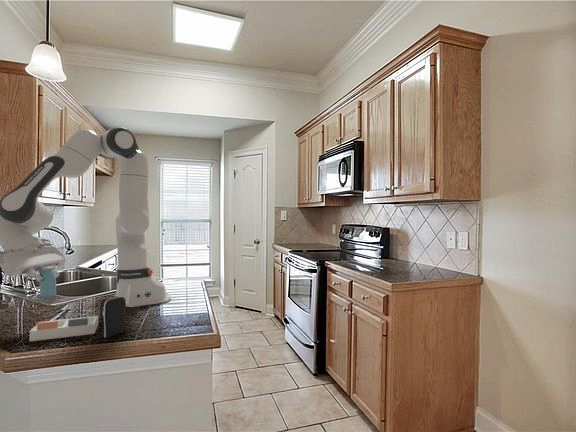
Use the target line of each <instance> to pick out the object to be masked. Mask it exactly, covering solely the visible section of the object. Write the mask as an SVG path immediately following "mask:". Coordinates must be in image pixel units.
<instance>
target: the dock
mask: <svg viewBox="0 0 576 432" xmlns="http://www.w3.org/2000/svg"><path fill="white" fill-rule="evenodd" d="M98 327H99V315H94V316H93V315H92V316H86V317H85V316H84V317H76V318H75V317H74V318H66V319H56V320H55V319H54V320H47V321H38V322H37V323H36V324H35V325H34V326H33V327H32V328H31V329H30V330H29V342H35V341H36V342H37V341H45V340H51V339H53V340H54V339H55V340H56V339H61V338H71V337H78V336H79V337H80V336H86V335H94V334H95V333H96V331H97V329H98Z"/></svg>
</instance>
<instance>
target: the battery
mask: <svg viewBox="0 0 576 432" xmlns="http://www.w3.org/2000/svg"><path fill="white" fill-rule="evenodd" d="M126 309H127V307H126V302H125V298H124V297H118V296H116V295H115V296H112V297H111V296H110V297H107V298H104V299H102V300H101V301H100V304H99V317H100V318H102V326H103V327H102V328H103V329H102V333H101V336H102V338H105V339H108V338H111V337H115V336H118V335H120V334H123V333H126V319H127V318H126V313H127V311H126Z"/></svg>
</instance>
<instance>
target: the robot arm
mask: <svg viewBox="0 0 576 432" xmlns="http://www.w3.org/2000/svg"><path fill="white" fill-rule="evenodd" d="M135 137H136V136H135V135H134V134H133V132H132V131H131V130H130V129H127V128H125V127H120V126H119V127H118V126H116V127H113V128H110V129H108V130H106V131H104V132H102V133H100V134H98V133H96V132H94V131H92V130H91V129H86V128H81V129H80V128H79V129H78V130H77V131H75V132H74V133H73V134H72V135H71V136H70V137H69V138H67V140H65V142H64V143H63V145H62V146H61V147H60V148H59V149H58V151H57V152H56V153H55V154H53V155H52V156H48V157H46V158H45V159H44V160H43V161H42V162H41V163H39V164H38V165H37V166H36V167H35V168H34V169H33V170H32V171H31V172H30V173H29V175H27V176H26V177H25V178H24V179H23V180H22V182H20V184H18V185H17V186H15V188H13V189H11V190H10V191H9V192H7V193H5V194H4V195H3V196H2V197H0V245H1V247H2V251H1V250H0V268H1V270H2V272H3V273H4V275H6V276H8V277H10V278H11V277H16V276H23V275H27V276H28V277H30V278H32V279H34V280H35V281H36V282H38V283H40V281H43V279H44V278H45V277H44V276H43V275H42V274H39V273H38V272H39V271H40V270H42V267H49V266H53V269H56V279H57V278H59V276H61V275H60V273H59V271H58V268H62V267H63V266H64V265H65V263H66V262H67V257H66V256H65V254H64V253H63V252H62V251H61V250H60V248H58V247H57V246H56V245H54V242H53V241H52V240H51V239H49V238H48V239H47V238H42V237H37V236H34V235H35V234H37V233H39V232H41V231H43V230H44V229H46V228H48V227H49V226H50V225H51V224H52V221H53V219H54V213H53V211H52V210H51V209H50V208H49V207H48V206H47V205H45V204H44V203H42V202H40V201H39V196H40V195H41V194H42V193H43V192H44V191H45V189H47V187H49V185H50V184H51V183H52V182H53V181H54V180H56V179H57V178H69V179H76V178H80V177H81V176H83V175H84V174H85V173H87V171H88V170H89V169H90V167H91V166H92V164H93V162H94V161H95V159H97V157H98V156H99V157H102V158H104V159H109V160H112V159H117V161H118V163H119V181H118V182H119V183H118V186H119V187H118V200H119V201H118V203H119V213H118V215H117V216H116V218H115V232H116V233H115V234H116V235H115V237H116V248H117V269H116V273H115V275H116V276H115V278H116V279H115V280H116V284H117V285H116V290H115V296H118V297H124V298H125V302H126V308H134V307H135V308H136V307H143V306H148V305H149V306H150V305H156V304H163V303H168V302H170V301H171V300H172V296H171V294H170V293H168V292H167V291H166V286H165V285H164V283H163V282H161V281H160V280H159V279H157V278H155V277H154V276H152V274H153V273H154V271H153V269H152V268H150V267H147V246H146V240H145V239H146V238H145V232H146V231H147V230H148V228H149V227H150V213H149V200H148V195H149V193H148V192H149V165H148V164H149V163H148V158H147V155H146V154H145V153H144V152H142V151H141V150H139V146H138V144H137V140H136V138H135Z"/></svg>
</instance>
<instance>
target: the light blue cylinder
mask: <svg viewBox="0 0 576 432" xmlns="http://www.w3.org/2000/svg"><path fill="white" fill-rule="evenodd" d="M38 272H39V273H38V274H42V275H43V276H44V277H45V278H44V279H43V281H39V296H41V297H48V296H53V295H56V294H57V278H56V269H53V266H49V267H42V270H40V271H38Z"/></svg>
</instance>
